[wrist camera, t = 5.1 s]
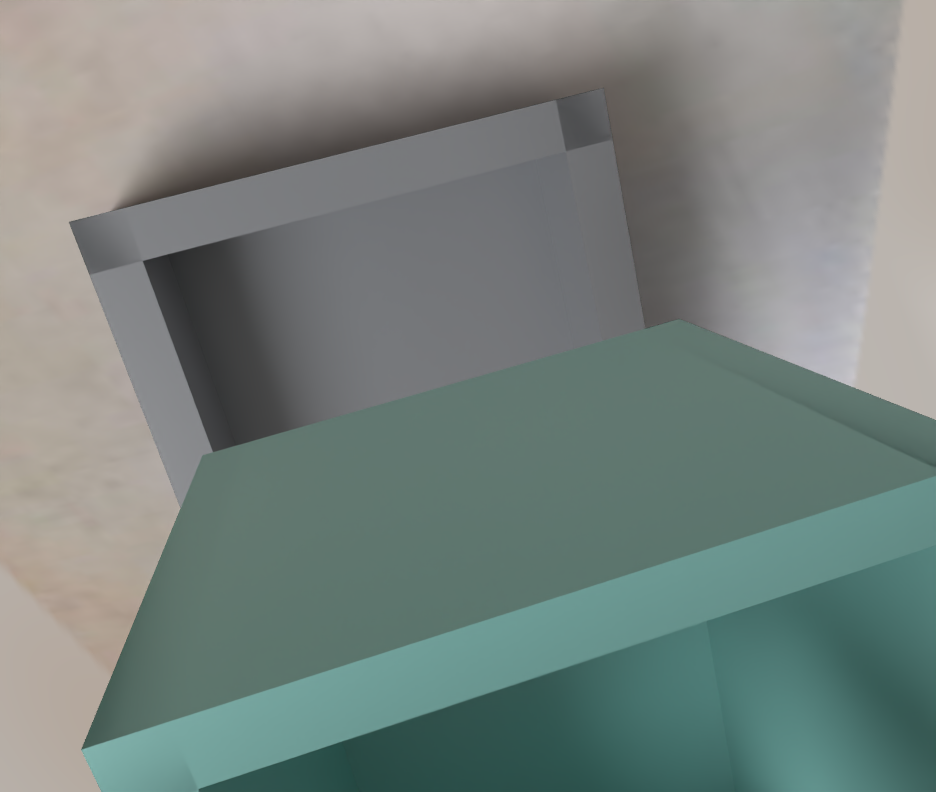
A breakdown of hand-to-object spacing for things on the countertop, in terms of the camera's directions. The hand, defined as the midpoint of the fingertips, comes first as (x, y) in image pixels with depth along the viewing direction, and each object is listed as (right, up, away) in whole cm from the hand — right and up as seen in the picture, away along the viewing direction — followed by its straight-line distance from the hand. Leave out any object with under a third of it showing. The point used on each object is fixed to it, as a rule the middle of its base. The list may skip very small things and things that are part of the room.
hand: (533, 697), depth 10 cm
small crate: (0, 0, +1) cm, 1 cm away
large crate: (-3, +4, +14) cm, 14 cm away
